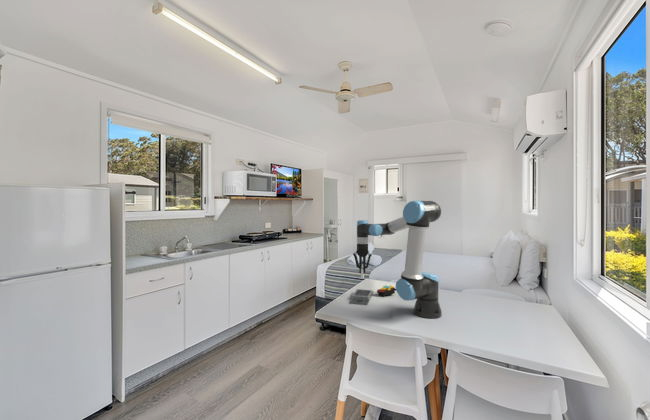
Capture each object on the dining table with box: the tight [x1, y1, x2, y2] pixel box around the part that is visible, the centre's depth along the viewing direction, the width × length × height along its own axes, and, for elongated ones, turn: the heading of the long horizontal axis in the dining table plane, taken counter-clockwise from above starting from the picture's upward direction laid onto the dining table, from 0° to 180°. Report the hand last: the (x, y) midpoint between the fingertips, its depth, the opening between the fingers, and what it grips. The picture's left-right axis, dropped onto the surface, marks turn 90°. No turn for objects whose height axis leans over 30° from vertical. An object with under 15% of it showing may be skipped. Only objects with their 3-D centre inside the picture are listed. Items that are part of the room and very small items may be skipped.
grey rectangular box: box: [349, 288, 374, 306], centre depth 190 cm, size 28×11×3 cm, turn 162°
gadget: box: [376, 285, 397, 297], centre depth 195 cm, size 6×13×6 cm, turn 114°
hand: (362, 278), depth 191 cm, fingers closed
